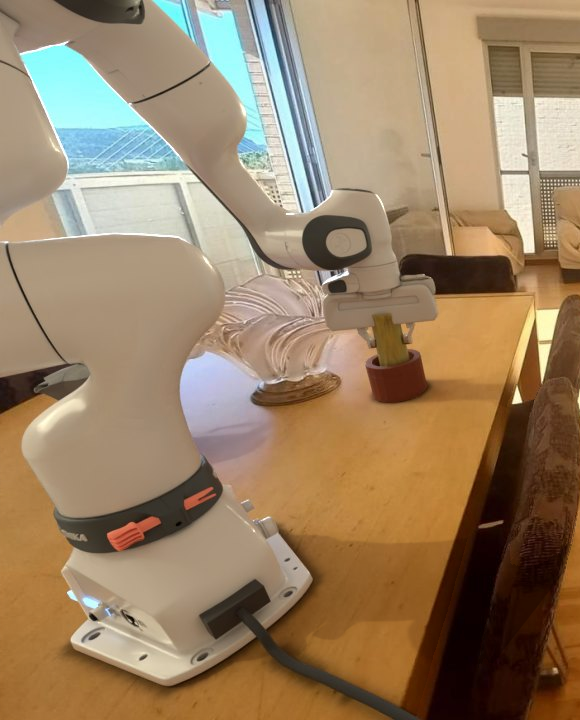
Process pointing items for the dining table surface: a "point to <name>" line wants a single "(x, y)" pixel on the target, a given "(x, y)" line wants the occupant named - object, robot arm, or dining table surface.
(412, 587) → the dining table surface
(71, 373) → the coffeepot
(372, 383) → the jar
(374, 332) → the bamboo tube section
